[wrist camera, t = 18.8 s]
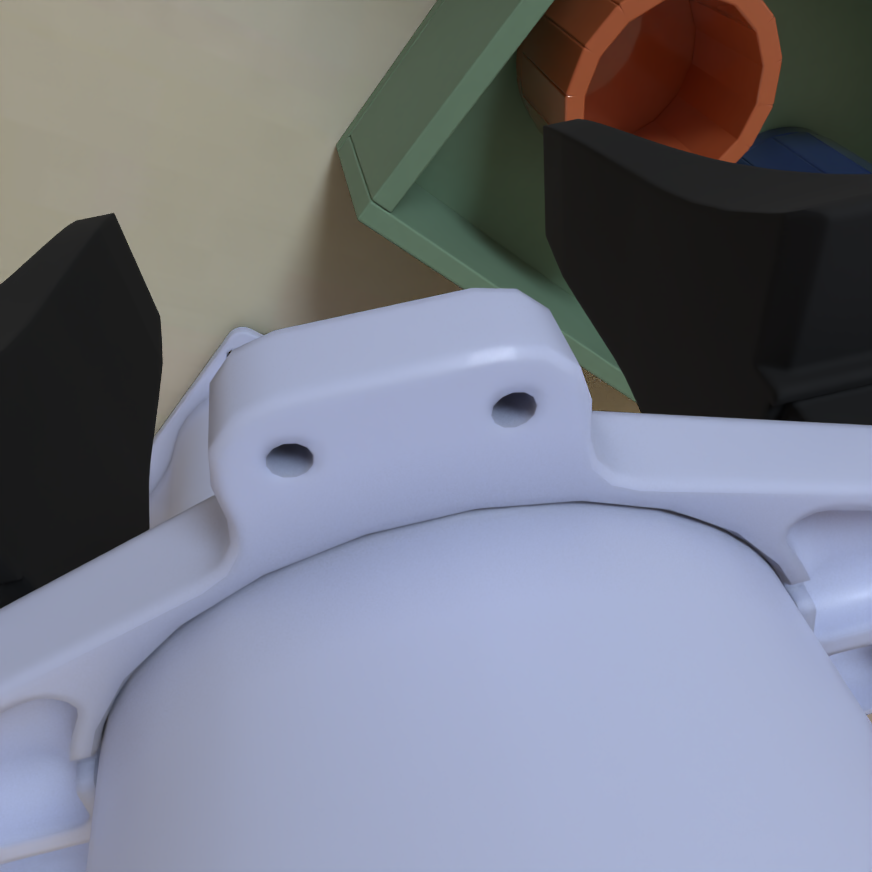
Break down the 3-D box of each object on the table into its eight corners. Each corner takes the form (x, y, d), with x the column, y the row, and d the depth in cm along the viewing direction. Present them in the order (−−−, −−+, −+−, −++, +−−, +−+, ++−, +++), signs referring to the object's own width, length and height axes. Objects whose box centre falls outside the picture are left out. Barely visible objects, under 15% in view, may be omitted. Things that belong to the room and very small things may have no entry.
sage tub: (683, 391, 32) (743, 474, 28) (334, 145, 22) (356, 220, 19) (980, 121, 26) (1102, 179, 23) (682, -351, 17) (807, -381, 13)
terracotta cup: (601, 183, 24) (657, 245, 21) (475, 73, 21) (518, 127, 18) (737, 31, 22) (821, 76, 19) (618, -115, 19) (694, -90, 16)
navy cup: (741, 305, 29) (805, 371, 25) (653, 228, 26) (712, 292, 23) (867, 188, 26) (953, 245, 23) (785, 89, 23) (871, 139, 20)
